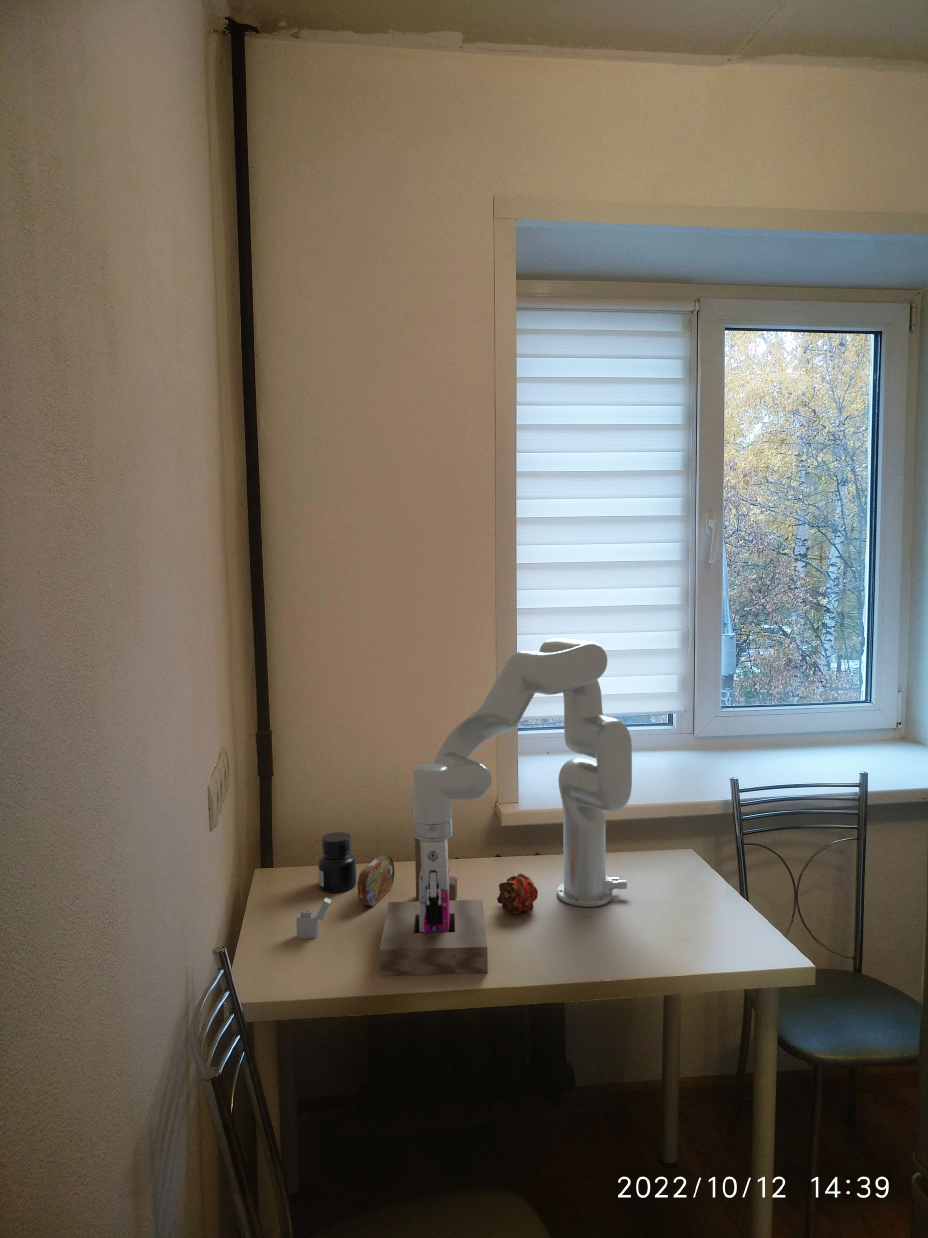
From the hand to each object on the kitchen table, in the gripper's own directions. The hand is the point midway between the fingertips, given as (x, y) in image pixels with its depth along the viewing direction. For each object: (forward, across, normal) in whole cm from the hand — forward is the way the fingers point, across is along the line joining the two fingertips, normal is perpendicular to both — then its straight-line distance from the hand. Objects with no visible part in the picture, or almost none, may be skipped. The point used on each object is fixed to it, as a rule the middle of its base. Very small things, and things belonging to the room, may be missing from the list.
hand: (434, 915), depth 148 cm
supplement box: (+3, 0, 0) cm, 3 cm away
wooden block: (+7, +22, 0) cm, 23 cm away
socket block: (+7, 0, 0) cm, 7 cm away
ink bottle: (+7, +31, +24) cm, 40 cm away
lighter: (+7, +6, +25) cm, 27 cm away
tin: (+7, +24, +14) cm, 29 cm away
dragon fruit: (+7, +16, -18) cm, 25 cm away
